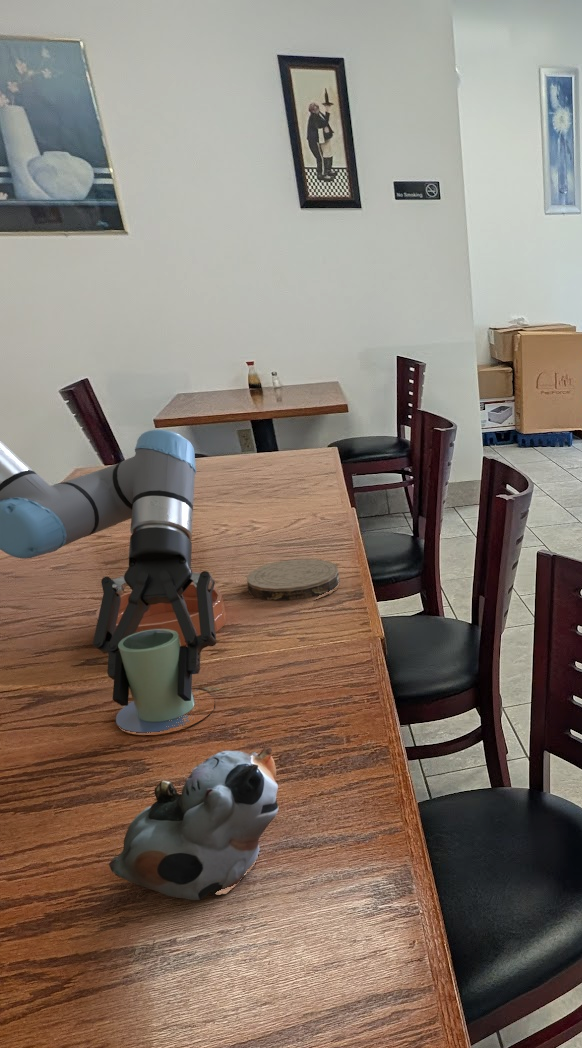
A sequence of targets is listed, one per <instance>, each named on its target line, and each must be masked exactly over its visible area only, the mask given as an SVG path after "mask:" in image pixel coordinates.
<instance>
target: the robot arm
mask: <svg viewBox="0 0 582 1048" xmlns="http://www.w3.org/2000/svg"><path fill="white" fill-rule="evenodd" d="M134 452H135V454H134V456H131V457H128V458H126V459H124V460H122V461H120V462H119V463H116V464H113V465H110V466H106V467H104V468H101V469H99V470H96V471H93V472H90V473H87V474H84V475H80V476H78V477H75V478H74V477H73V478H72V479H68V480H66V481H62V482H58V483H54V484H53V485H51V484H49V483H48V482H46V481H45V479H44V478H42V477H41V476H40V474H38V473H36V472H35V471H34V470H33V469H32V468H31V467H30V466H29V465H28V464H27V463H26V462H24V461H23V460H22V459H21V458H20V457H19V456H18V455H17V454H16V453H15V452H13V450H12V449H10V448H9V447H8V446H7V445H6V443H4V442H3V441H2V440H0V550H1V551H2V552H4V553H5V554H6V555H9V556H11V557H14V558H17V559H24V560H25V559H32V558H36V557H40V556H43V555H46V554H50V553H53V552H57V551H58V550H60V549H61V548H63V547H64V546H67V545H69V544H71V543H74V542H76V541H79V540H81V539H83V538H85V537H89V536H92V535H93V534H96V533H99V532H101V531H103V530H106V529H109V528H111V527H113V526H117V525H118V524H120V523H123V522H126V521H128V520H130V534H131V535H130V537H129V547H128V567H127V570H126V571H125V573H124V575H123V576H119V577H116V578H111V577H110V576H104V577H102V579H101V580H100V581H101V587H102V592H103V593H102V594H103V595H102V597H101V598H102V599H101V604H100V606H101V608H100V612H99V617H98V621H97V620H96V621H97V622H96V627H95V631H94V636H93V640H92V645H93V647H94V648H96V649H97V650H98V651H99V652H101V653H102V654H105V655H106V654H107V655H108V659H107V670H106V672H107V675H108V678H110V679H112V680H113V689H112V701H114V702H115V703H117V704H118V705H119V706H120V707H124V706H128V704H129V698H130V697H129V696H130V687H129V684H128V680H127V677H126V673H125V669H124V666H123V662H122V659H121V655H120V651H119V648H118V644H119V642H120V641H121V640H122V639H124V638H125V637H127V636H129V635H132V634H134V633H135V632H136V630H137V628H138V626H139V624H140V622H141V619H142V617H143V615H144V613H145V612H147V611H148V609H149V607H150V605H154V604H158V603H166V604H170V603H171V605H172V607H173V610H174V613H175V615H176V618H177V620H178V623H179V625H180V628H181V631H182V633H183V636H184V638H185V643H186V644H187V645H184V646H180V651H179V673H178V696H179V697H181V698H182V699H183V700H184V701H191V690H192V688H193V675H198V674H199V673H200V671H201V653H202V651H203V649H205V648H207V647H215V645H216V644H217V636H216V635H217V634H216V633H217V632H216V633H215V624H214V614H213V604H212V591H213V588H215V585H216V581H215V579H214V578H213V577H212V575H211V574H210V572H209V571H207V570H203V571H202V572H193V571H192V568H191V566H192V554H193V553H192V551H193V550H192V549H193V548H192V547H193V544H192V539H193V524H194V523H193V521H194V497H195V496H194V495H195V480H196V474H197V468H196V455H195V447H194V446H193V444H192V442H191V441H190V440H188V438H185V437H184V436H183V435H181V434H179V433H177V432H175V431H171V430H165V429H151V430H147V431H144V432H143V433H141V434H140V436H139V437H138V438H137V440H136V445H135V448H134ZM190 584H194V586H195V587H196V590H197V602H198V612H199V622H200V633H201V635H199V636H198V635H197V633H196V630H195V628H194V625H193V623H192V620H191V617H190V615H189V612H188V610H187V606H186V603H185V600H184V598H183V595H182V594H183V593H184V591H185V590H186V589H187V588H188V587H189V585H190ZM127 587H129V588H130V589H131V591H130V592H131V594H130V596H129V598H128V605H127V607H126V609H125V611H124V613H123V615H122V617H121V619H120V622H119V624H118V626H117V628H116V623H117V618H118V613H119V608H120V603H121V596H120V595H123V594H125V589H126V588H127ZM115 628H116V630H115Z"/></svg>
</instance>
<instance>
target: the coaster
mask: <svg viewBox="0 0 582 1048" xmlns="http://www.w3.org/2000/svg"><path fill="white" fill-rule="evenodd" d="M196 691H197V690H196ZM198 705H199V704H198ZM189 712H190V711H189ZM184 715H185V714H184ZM184 715H182V717H181V716H180V718H179V717H178V718H175V719H171V720H172V721H171V720H170V721H169V720H167V721H161V722H148V721H144V720H141V719H140V718H139V717H138V716H137V712H136V709H135V705H134V702H133V700H132V701H130V702H128V706H122V708H121V709H119V711H118V712H117V714H116V716H115V724H116V726H117V725H118V727H120V728H121V729H123V730H125V731H130V732H136V733H147V732H148V733H149V732H150V733H151V732H160V731H164V730H168V729H170V728H173V727H179V725H180V724H182V726H183V723H186V722H189V721H190V720H189V721H188V720H187V719H188V718H187V717H188V716H189V715H188V716H186V717H185V716H184ZM186 715H187V714H186ZM183 716H184V717H183ZM190 716H191V715H190ZM183 718H187V719H185V720H187V721H185V722H184V719H183ZM177 719H178V720H177ZM182 719H183V720H182ZM193 720H194V719H193ZM180 721H181V722H180ZM182 721H183V722H182ZM176 722H177V723H176ZM178 722H179V723H178ZM178 724H179V725H178ZM172 725H173V726H172ZM174 725H175V726H174ZM184 725H185V724H184ZM166 726H167V727H166ZM168 726H169V727H168ZM180 726H181V725H180ZM118 727H117V728H118Z"/></svg>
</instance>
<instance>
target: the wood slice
mask: <svg viewBox="0 0 582 1048" xmlns="http://www.w3.org/2000/svg"><path fill="white" fill-rule="evenodd" d="M339 582H340V575H339V569H338V567H337V565H336V564H335V563H334V562H333V563H332V562H331V561H327V560H324V559H315V558H298V559H297V558H295V559H287V560H281V561H275V562H272V563H267V564H265V565H262V566H260V567H257V568H255V569H253V570H252V571H250V572H249V573H248V574H247V575H246V583H247V589H248V593H249V594H250V595H251V596H252V597H253V598H255V599H259V600H263V601H270V602H271V601H272V602H290V601H298V600H304V599H310V598H314V597H317V596H319V595H322V594H324V593H326V592H329V591H330V590H332V589H334V588H335V587H336V586H337V585H338V583H339ZM340 583H341V582H340Z"/></svg>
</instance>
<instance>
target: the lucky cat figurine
mask: <svg viewBox="0 0 582 1048" xmlns="http://www.w3.org/2000/svg"><path fill="white" fill-rule="evenodd" d="M272 751H273V749H272V746H271V745H269V746H266V747H264V748H262V750H261V751H260V752H259V753H257V752H255V751H253V752H251V753H249V752H245V751H241V750H223V751H220V752H217V753H215V754H213V755H212V756H210V757H208V758H206V759H205V760H204V761H202V762H200V764H197V765H196V766H195V767H193V769H192V771H191V773H190V774H189V776H188V777H187V778H186V780H185V783H184V786H183V787H182V790H181V794H180V793H178V790H177V789H176V787H175V785H174V784H173V783H172V782H171V781H169V780H160V781H159V783H158V784H157V785H156V786H155V787H154V791H153V793H154V796H155V799H156V801H155V802H154V803H152V805H150V806H147V807H146V808H145V809H143V811H141V812H140V813H139V814H137V815H136V816H135V817H134V818H133V820H132V821H131V823H130V824H129V826H128V827H127V830H126V832H125V835H124V839H123V849H122V851H121V852H120V853H119V854H118V855H117V856H114V857H113V858H112V860H110V861H109V863H108V866H109V868H110V871H111V872H112V873H113V874H114V875H115V876H116V877H119V878H121V879H123V880H125V881H128V882H130V883H132V884H135V885H138V886H140V887H143V888H145V889H148V890H150V891H151V890H152V891H155V892H159V893H160V894H161V895H164V896H167V897H173V898H177V899H178V898H179V899H184V900H190V901H200V900H203V899H204V898H206V896H208V895H209V894H211V893H212V894H213V895H215V893H216V892H217V891H219V890H221V889H225V888H227V887H231V886H233V885H234V884H237V883H238V882H239V881H240V879H241V878H242V877H243V876H244V874H245V873H246V871H247V869H249V868H250V867H251V866H252V865H253V863H254V862H255V861H256V859H257V856H258V854H259V855H260V852H259V851H261V849H260V846H259V839H260V838H261V836H262V835H263V833H264V832H265V830H266V829H267V828H268V826H269V825H270V824H271V822H272V821H273V820H274V819H275V817H276V816H277V814H278V811H279V805H278V801H277V794H278V789H279V785H278V783H277V781H276V779H277V767H276V763H275V760H274V758H273V756H272V755H271V754H272ZM240 882H241V881H240ZM240 882H239V883H240Z"/></svg>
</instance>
